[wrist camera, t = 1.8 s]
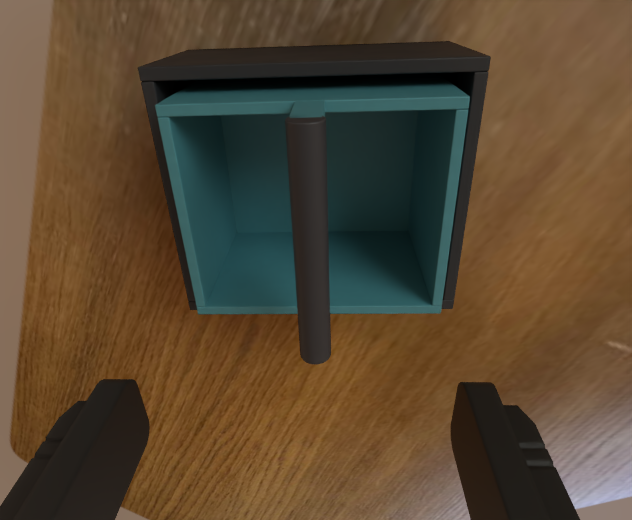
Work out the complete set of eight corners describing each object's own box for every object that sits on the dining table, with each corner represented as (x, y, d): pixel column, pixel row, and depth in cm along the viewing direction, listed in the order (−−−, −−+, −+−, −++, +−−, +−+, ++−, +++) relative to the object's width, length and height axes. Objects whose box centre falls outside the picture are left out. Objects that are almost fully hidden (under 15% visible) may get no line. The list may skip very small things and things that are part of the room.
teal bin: (231, 236, 31) (176, 364, 20) (208, 73, 26) (115, 127, 15) (414, 233, 30) (458, 365, 20) (428, 66, 25) (500, 118, 14)
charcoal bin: (219, 247, 32) (189, 310, 26) (187, 49, 26) (136, 67, 19) (428, 244, 32) (452, 309, 25) (450, 41, 25) (491, 56, 18)
